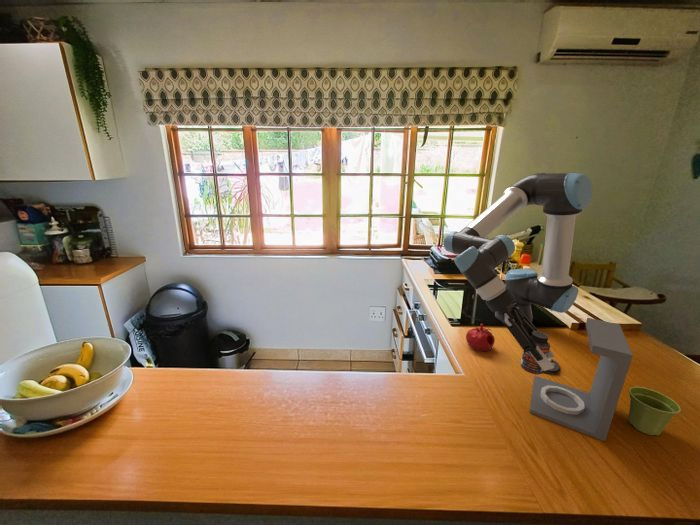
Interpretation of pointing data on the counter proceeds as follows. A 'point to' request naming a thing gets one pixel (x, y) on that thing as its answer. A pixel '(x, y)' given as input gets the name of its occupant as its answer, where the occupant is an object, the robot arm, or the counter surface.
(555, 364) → the dark grey oval piece
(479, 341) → the pomegranate
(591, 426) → the seat stand
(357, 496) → the counter surface
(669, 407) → the plant pot
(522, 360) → the supplement bottle
